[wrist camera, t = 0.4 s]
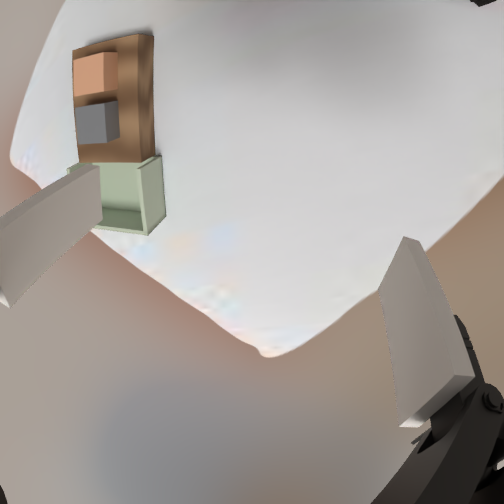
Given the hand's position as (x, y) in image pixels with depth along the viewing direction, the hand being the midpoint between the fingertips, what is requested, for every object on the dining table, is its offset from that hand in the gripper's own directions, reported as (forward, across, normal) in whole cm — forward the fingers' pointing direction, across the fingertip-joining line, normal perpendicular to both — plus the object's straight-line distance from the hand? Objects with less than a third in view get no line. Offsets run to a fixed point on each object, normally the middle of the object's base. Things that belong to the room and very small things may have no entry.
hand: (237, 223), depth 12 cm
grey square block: (+23, -23, -2) cm, 33 cm away
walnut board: (+27, -24, 0) cm, 36 cm away
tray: (+27, -22, -13) cm, 37 cm away
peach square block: (+23, -24, +4) cm, 33 cm away
